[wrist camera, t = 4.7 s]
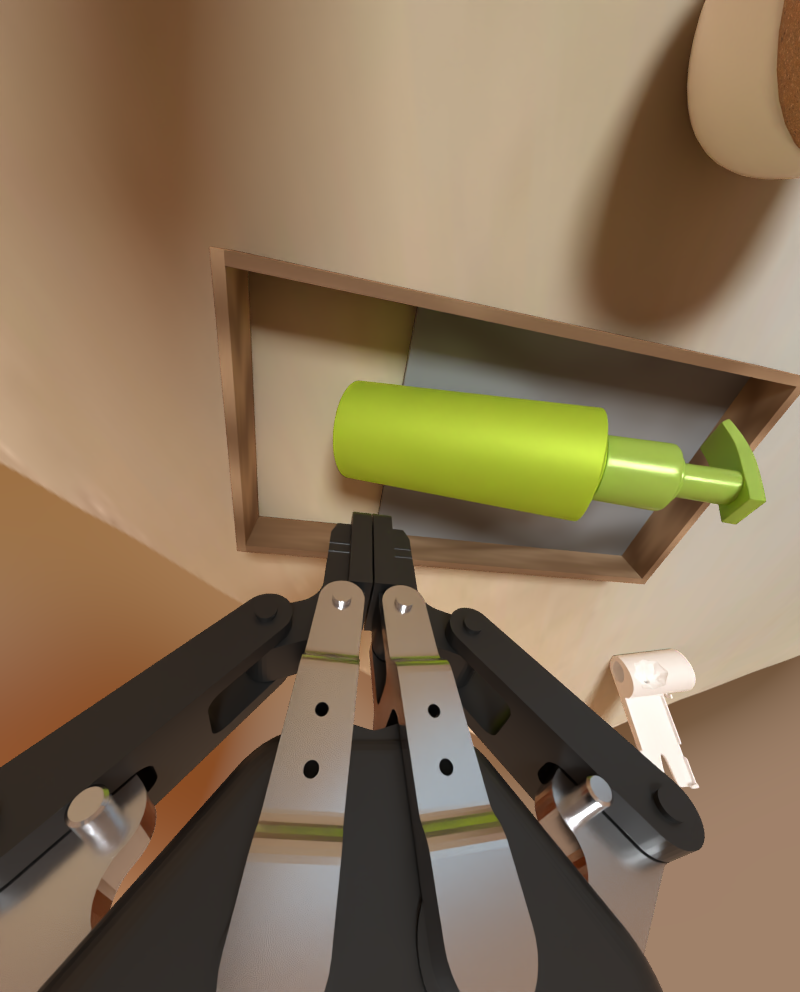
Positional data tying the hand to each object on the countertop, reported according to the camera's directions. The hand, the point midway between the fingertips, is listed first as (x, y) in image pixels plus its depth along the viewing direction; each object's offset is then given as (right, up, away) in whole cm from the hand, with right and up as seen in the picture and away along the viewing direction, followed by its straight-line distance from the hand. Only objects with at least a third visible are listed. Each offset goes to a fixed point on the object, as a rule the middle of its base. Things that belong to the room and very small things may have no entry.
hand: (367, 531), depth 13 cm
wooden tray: (+8, +5, +12) cm, 15 cm away
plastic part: (+32, -21, +32) cm, 50 cm away
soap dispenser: (-1, +6, +8) cm, 10 cm away
